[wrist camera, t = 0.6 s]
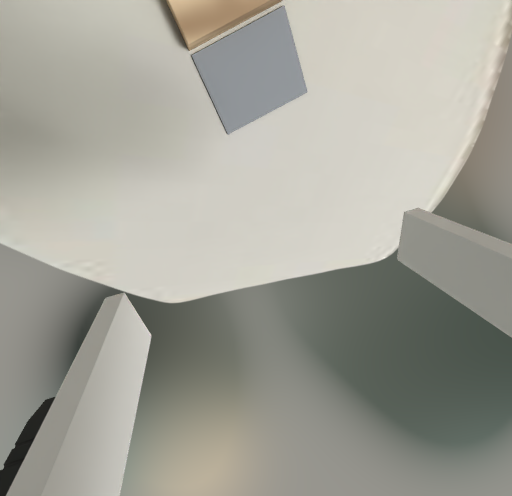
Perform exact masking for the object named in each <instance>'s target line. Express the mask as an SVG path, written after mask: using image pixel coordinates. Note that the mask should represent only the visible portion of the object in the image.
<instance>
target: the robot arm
mask: <svg viewBox="0 0 512 496" xmlns="http://www.w3.org/2000/svg"><path fill="white" fill-rule="evenodd" d="M397 260H399V261H400V262H402V263H403V264H405V265H406V266H408V267H409V268H411V269H412V270H413V271H415V272H417V273H418V274H419V275H421V276H422V277H424V278H425V279H427V280H428V281H430V282H431V283H433V284H434V285H435V286H437V287H438V288H440V289H441V290H443V291H445V292H446V293H447V294H449V295H450V296H452V297H453V298H455V299H456V300H457V301H459V302H460V303H462V304H463V305H465V306H467V307H468V308H469V309H471V310H472V311H474V312H475V313H477V314H478V315H480V316H481V317H483V318H484V319H485V320H487V321H488V322H490V323H491V324H493V325H494V326H496V327H497V328H499V329H500V330H502V331H503V332H504V333H506V334H507V335H509V336H510V337H512V244H510V243H508V242H505V241H502V240H500V239H497V238H495V237H492V236H490V235H487V234H484V233H482V232H479V231H477V230H474V229H471V228H469V227H466V226H464V225H461V224H458V223H456V222H453V221H451V220H448V219H446V218H443V217H440V216H438V215H435V214H433V213H430V212H427V211H425V210H422V209H420V208H416V209H413V210H409V211H406V212H404V216H403V223H402V229H401V236H400V242H399V249H398V256H397ZM150 340H151V334H150V333H149V331H148V330H147V328H146V326H145V325H144V323H143V322H142V320H141V319H140V317H139V315H138V314H137V312H136V310H135V309H134V307H133V306H132V304H131V302H130V301H129V300H128V298H127V296H126V295H125V293H121V294H118V295H114V296H111V297H108V298H105V300H104V302H103V304H102V306H101V308H100V310H99V312H98V314H97V316H96V318H95V320H94V322H93V324H92V326H91V328H90V330H89V332H88V334H87V336H86V338H85V340H84V342H83V344H82V346H81V348H80V350H79V352H78V353H77V356H76V358H75V360H74V361H73V363H72V365H71V367H70V369H69V372H68V373H67V376H66V377H65V379H64V381H63V383H62V385H61V387H60V389H59V391H58V393H57V395H56V397H53V398H50V399H47V400H45V401H44V402H43V404H42V405H41V406H40V407H39V409H38V410H37V411H36V412H35V413H34V415H33V416H32V417H31V418H30V419H29V421H28V422H27V424H26V425H25V427H24V429H23V431H22V433H21V434H20V436H19V438H18V440H17V442H16V443H15V448H14V449H12V451H11V452H10V454H9V456H8V458H7V460H6V461H5V463H4V469H3V470H0V496H119V495H120V491H121V485H122V480H123V475H124V471H125V466H126V461H127V456H128V451H129V445H130V441H131V436H132V430H133V425H134V420H135V415H136V410H137V405H138V400H139V395H140V390H141V385H142V380H143V375H144V370H145V365H146V360H147V355H148V350H149V345H150Z"/></svg>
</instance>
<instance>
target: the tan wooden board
mask: <svg viewBox="0 0 512 496" xmlns="http://www.w3.org/2000/svg"><path fill="white" fill-rule="evenodd" d="M281 1H282V0H166V2H167V4H168V6H169V8H170V10H171V13H172V15H173V17H174V19H175V21H176V23H177V26H178V28H179V30H180V32H181V34H182V36H183V38H184V41H185V43H186V45H187V47H188V49H189V51H190V50H192V49H194V48H196V47H197V46H199V45H201V44H203V43H205V42H207V41H209V40H210V39H212V38H214V37H216V36H218V35H220V34H222V33H223V32H225V31H227V30H229V29H231V28H233V27H235V26H236V25H238V24H240V23H242V22H244V21H246V20H248V19H249V18H251V17H253V16H255V15H257V14H259V13H261V12H262V11H264V10H266V9H268V8H270V7H272V6H274V5H275V4H277V3H279V2H281Z"/></svg>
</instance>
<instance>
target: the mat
mask: <svg viewBox="0 0 512 496" xmlns="http://www.w3.org/2000/svg"><path fill="white" fill-rule="evenodd" d="M192 58H193V60H194V62H195V64H196V67H197V69H198V71H199V73H200V75H201V77H202V80H203V82H204V84H205V86H206V88H207V90H208V93H209V95H210V97H211V99H212V101H213V103H214V105H215V108H216V110H217V112H218V114H219V116H220V118H221V121H222V123H223V125H224V127H225V129H226V131H227V134H230V133H231V132H233V131H235V130H237V129H239V128H241V127H243V126H245V125H247V124H248V123H250V122H252V121H254V120H256V119H258V118H260V117H262V116H264V115H265V114H267V113H269V112H271V111H273V110H275V109H277V108H279V107H280V106H282V105H284V104H286V103H288V102H290V101H292V100H294V99H296V98H297V97H299V96H301V95H303V94H305V93H307V88H306V85H305V81H304V77H303V73H302V70H301V66H300V62H299V58H298V55H297V51H296V47H295V43H294V40H293V36H292V32H291V28H290V25H289V21H288V17H287V14H286V10H285V6H282V7H281V8H279V9H277V10H275V11H273V12H271V13H269V14H267V15H266V16H264V17H262V18H260V19H258V20H256V21H254V22H253V23H251V24H249V25H247V26H245V27H243V28H241V29H240V30H238V31H236V32H234V33H232V34H230V35H228V36H227V37H225V38H223V39H221V40H219V41H217V42H215V43H214V44H212V45H210V46H208V47H206V48H204V49H202V50H201V51H199V52H197V53H195V54H193V55H192Z"/></svg>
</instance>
